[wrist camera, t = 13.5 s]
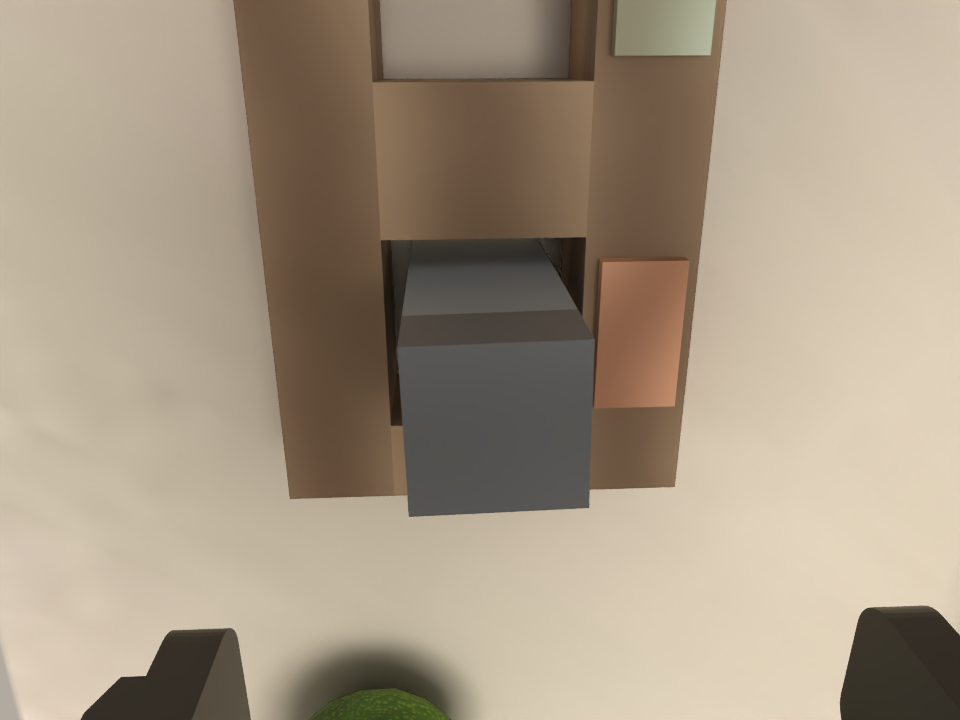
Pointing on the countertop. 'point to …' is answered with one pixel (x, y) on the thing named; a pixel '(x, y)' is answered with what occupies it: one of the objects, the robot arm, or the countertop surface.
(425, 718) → the avocado
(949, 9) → the countertop surface
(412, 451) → the plug
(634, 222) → the socket block
